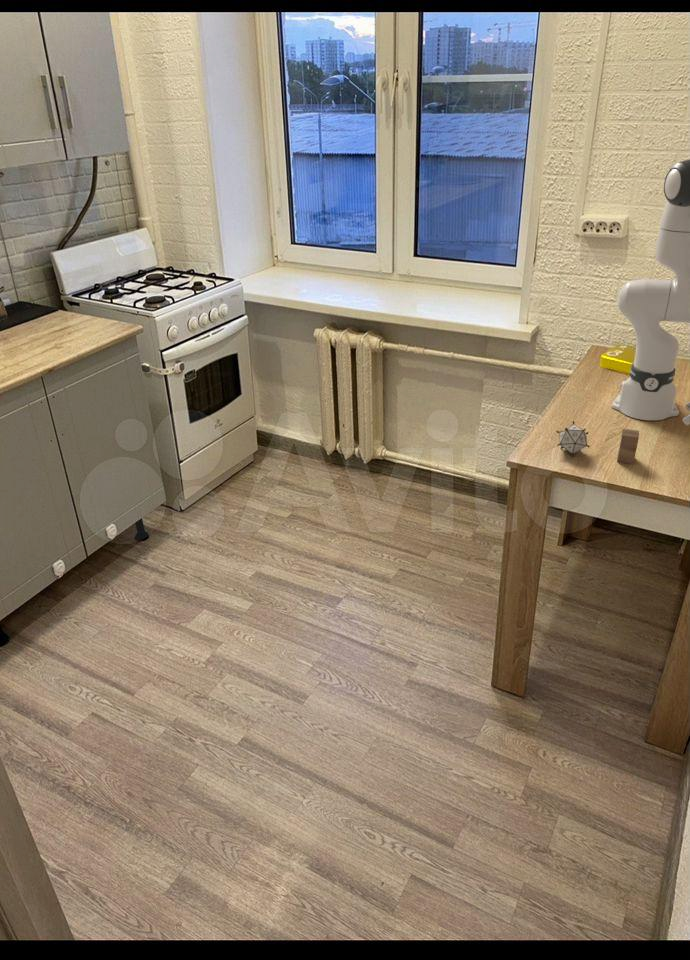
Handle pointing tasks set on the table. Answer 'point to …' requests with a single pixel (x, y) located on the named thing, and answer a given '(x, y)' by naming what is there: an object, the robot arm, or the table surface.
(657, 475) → the table surface
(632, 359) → the element tile
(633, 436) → the walnut block
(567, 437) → the game die
